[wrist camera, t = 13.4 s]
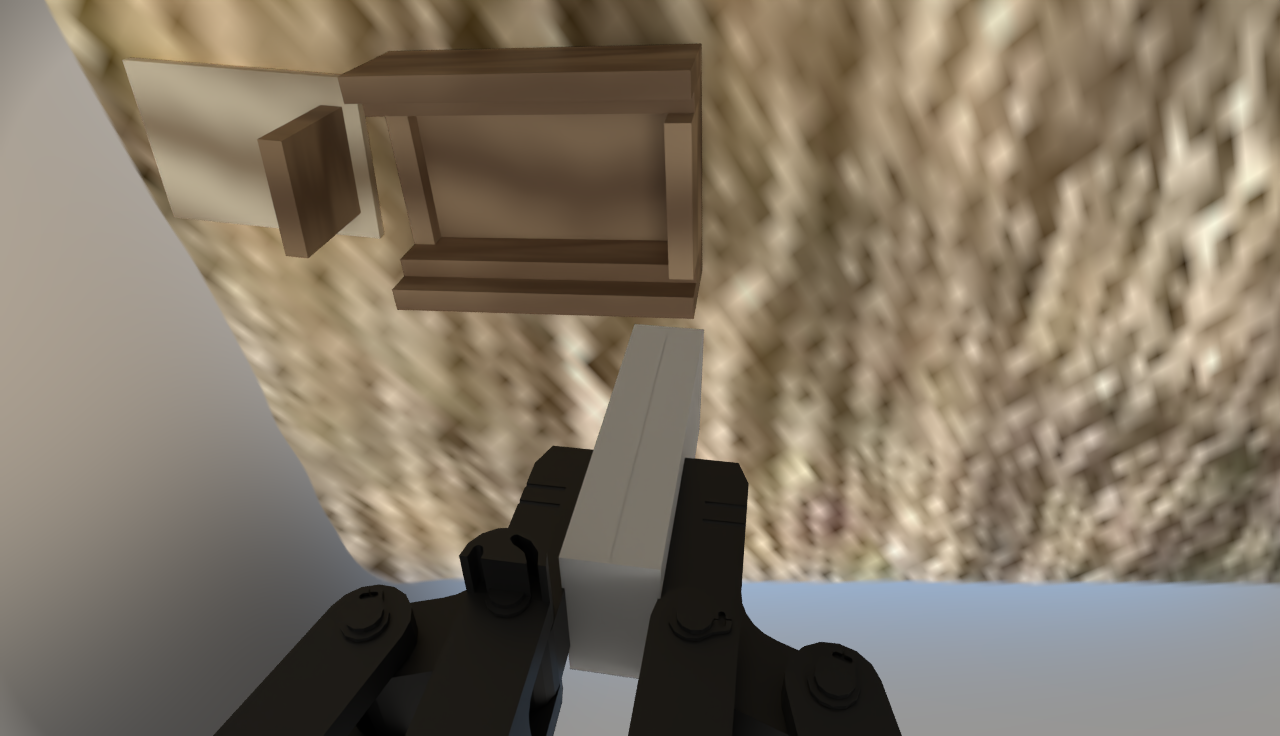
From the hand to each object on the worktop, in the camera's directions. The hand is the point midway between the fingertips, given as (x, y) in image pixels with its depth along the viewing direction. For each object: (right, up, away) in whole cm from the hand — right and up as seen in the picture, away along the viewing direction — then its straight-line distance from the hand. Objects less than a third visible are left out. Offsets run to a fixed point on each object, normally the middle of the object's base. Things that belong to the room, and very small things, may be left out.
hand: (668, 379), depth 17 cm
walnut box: (-5, +11, +24) cm, 27 cm away
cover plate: (-22, +13, +26) cm, 37 cm away
